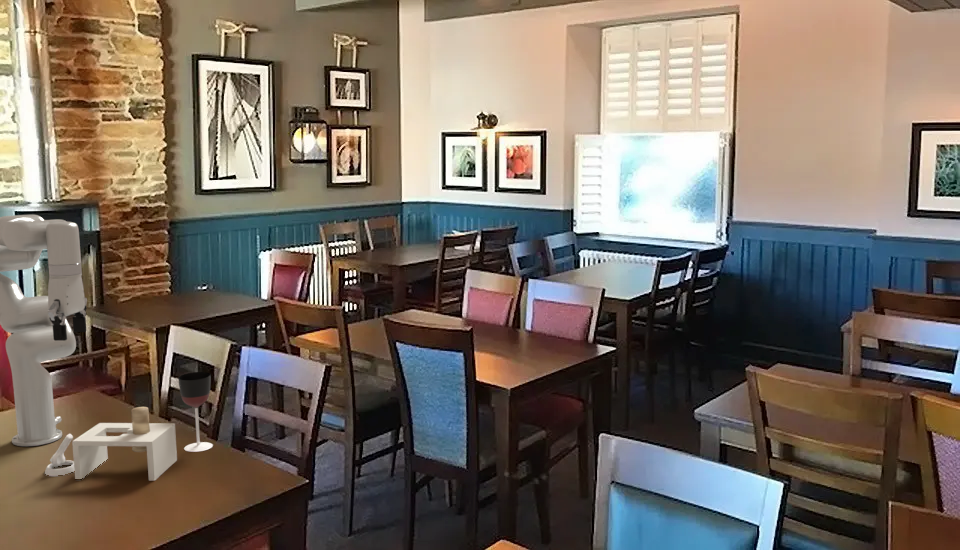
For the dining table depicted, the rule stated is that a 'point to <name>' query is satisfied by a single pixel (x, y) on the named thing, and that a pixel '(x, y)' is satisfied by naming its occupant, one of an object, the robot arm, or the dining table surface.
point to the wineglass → (195, 400)
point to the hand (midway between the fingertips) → (70, 336)
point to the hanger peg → (140, 425)
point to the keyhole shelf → (94, 445)
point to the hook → (60, 460)
